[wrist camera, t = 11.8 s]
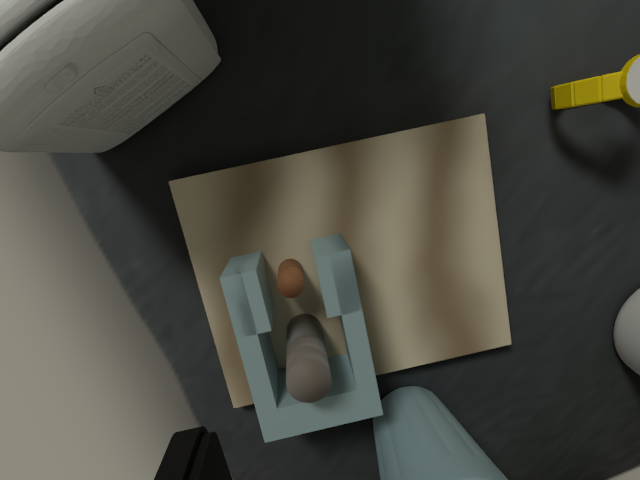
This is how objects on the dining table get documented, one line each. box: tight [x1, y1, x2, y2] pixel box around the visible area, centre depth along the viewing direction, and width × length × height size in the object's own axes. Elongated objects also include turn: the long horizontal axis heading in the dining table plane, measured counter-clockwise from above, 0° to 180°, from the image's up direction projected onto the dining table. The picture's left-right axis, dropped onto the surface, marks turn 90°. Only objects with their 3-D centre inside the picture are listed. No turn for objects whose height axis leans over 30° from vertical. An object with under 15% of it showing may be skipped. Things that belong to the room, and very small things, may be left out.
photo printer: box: [0, 0, 221, 153], centre depth 20 cm, size 10×4×12 cm, turn 126°
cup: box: [373, 386, 508, 480], centre depth 27 cm, size 8×8×10 cm
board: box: [168, 113, 511, 408], centre depth 25 cm, size 20×16×8 cm
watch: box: [550, 54, 640, 110], centre depth 25 cm, size 6×3×6 cm, turn 101°
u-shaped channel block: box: [219, 233, 383, 443], centre depth 26 cm, size 10×7×4 cm
